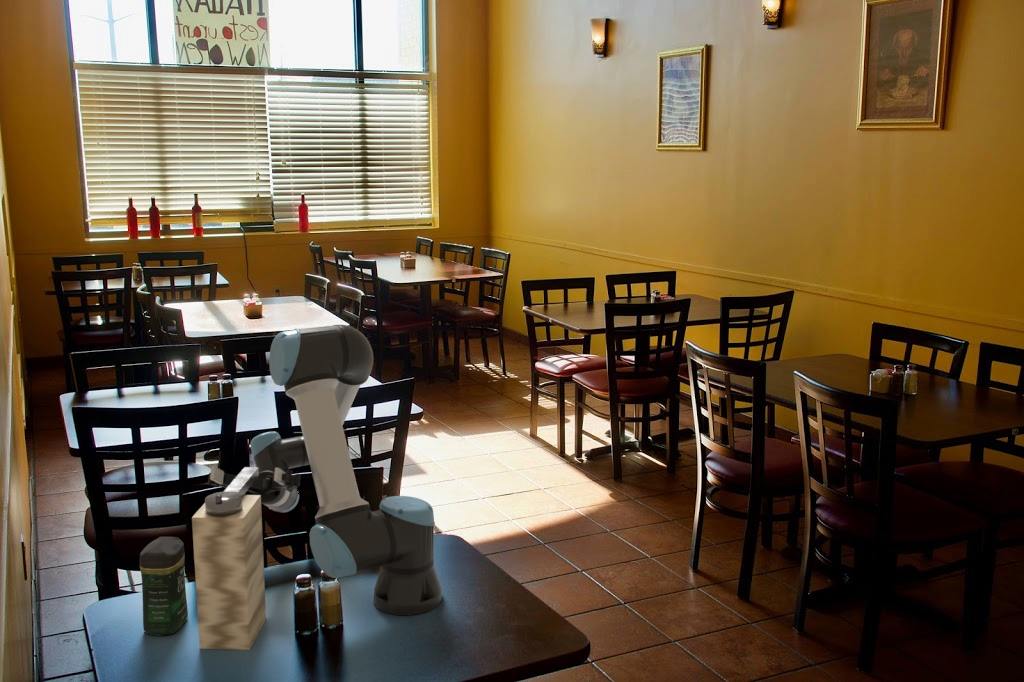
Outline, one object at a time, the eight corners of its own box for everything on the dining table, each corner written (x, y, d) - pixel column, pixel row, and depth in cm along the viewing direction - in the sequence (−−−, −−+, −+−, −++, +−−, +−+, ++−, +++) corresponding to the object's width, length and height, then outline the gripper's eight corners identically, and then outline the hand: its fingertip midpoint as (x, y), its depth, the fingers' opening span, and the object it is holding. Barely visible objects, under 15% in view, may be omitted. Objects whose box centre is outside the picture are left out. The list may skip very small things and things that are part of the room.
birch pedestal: (266, 619, 193) (260, 495, 187) (249, 649, 181) (243, 518, 176) (219, 618, 193) (212, 494, 187) (199, 648, 181) (191, 517, 176)
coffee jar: (177, 637, 185) (172, 553, 182) (138, 637, 185) (132, 552, 181) (193, 613, 195) (188, 533, 191) (156, 613, 195) (150, 532, 191)
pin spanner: (235, 475, 198) (235, 457, 197) (267, 476, 198) (267, 458, 197) (200, 516, 176) (199, 496, 175) (236, 517, 176) (235, 497, 175)
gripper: (321, 506, 212) (301, 492, 192) (214, 504, 212) (183, 489, 192) (324, 474, 214) (304, 456, 194) (218, 472, 214) (188, 454, 194)
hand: (244, 473), depth 193 cm, fingers open, 13 cm apart
